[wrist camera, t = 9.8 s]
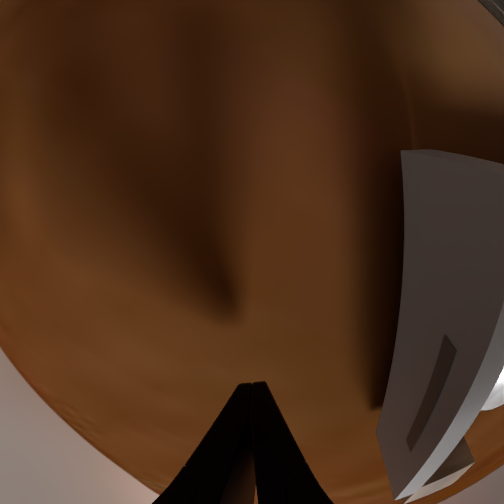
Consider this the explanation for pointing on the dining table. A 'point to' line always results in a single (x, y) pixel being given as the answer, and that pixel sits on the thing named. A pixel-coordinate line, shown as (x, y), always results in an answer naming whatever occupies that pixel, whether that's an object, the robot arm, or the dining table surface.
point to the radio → (495, 8)
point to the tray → (444, 312)
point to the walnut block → (446, 471)
